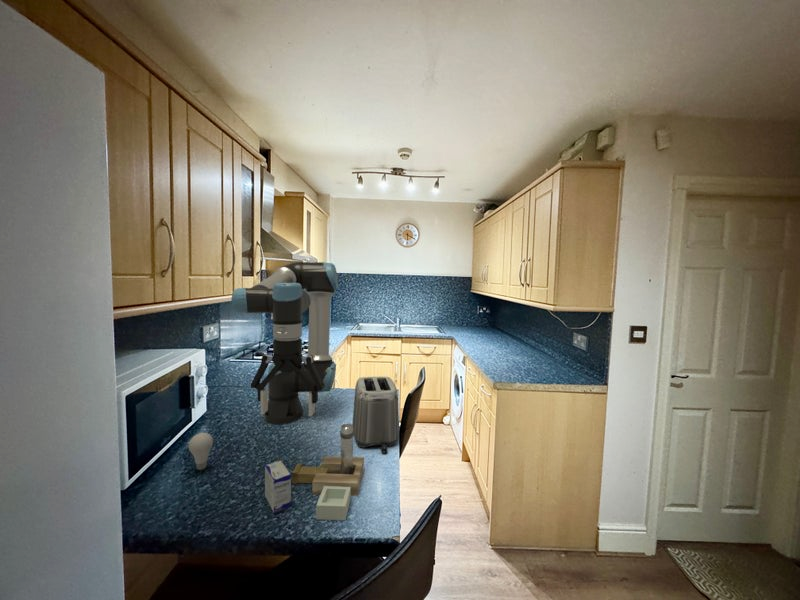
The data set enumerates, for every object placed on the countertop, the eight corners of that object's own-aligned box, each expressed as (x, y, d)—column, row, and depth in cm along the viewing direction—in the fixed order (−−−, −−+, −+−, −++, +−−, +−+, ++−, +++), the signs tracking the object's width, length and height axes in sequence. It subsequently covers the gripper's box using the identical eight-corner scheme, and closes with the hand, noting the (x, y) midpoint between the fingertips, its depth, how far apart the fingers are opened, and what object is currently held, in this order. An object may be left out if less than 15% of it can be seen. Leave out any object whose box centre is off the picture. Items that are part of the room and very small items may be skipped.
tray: (316, 519, 75) (316, 505, 74) (324, 498, 82) (324, 486, 81) (345, 520, 75) (345, 506, 74) (350, 499, 82) (350, 486, 81)
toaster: (392, 415, 133) (393, 371, 131) (404, 454, 103) (405, 398, 102) (352, 417, 130) (352, 372, 129) (352, 457, 101) (353, 400, 100)
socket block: (357, 495, 83) (357, 483, 83) (312, 494, 83) (312, 481, 83) (363, 468, 95) (363, 457, 95) (324, 467, 95) (324, 456, 95)
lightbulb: (187, 478, 89) (186, 440, 88) (191, 466, 95) (190, 430, 94) (211, 473, 92) (211, 436, 91) (214, 461, 97) (214, 427, 96)
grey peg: (338, 485, 87) (338, 429, 86) (341, 476, 91) (341, 423, 90) (352, 485, 87) (352, 430, 86) (354, 477, 91) (354, 423, 90)
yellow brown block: (324, 484, 87) (325, 473, 87) (292, 483, 87) (292, 472, 87) (329, 474, 92) (329, 464, 91) (297, 473, 92) (297, 463, 92)
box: (292, 506, 79) (291, 473, 78) (273, 514, 76) (273, 480, 76) (281, 489, 85) (281, 459, 84) (264, 496, 82) (264, 465, 82)
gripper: (236, 339, 84) (237, 416, 85) (328, 342, 82) (327, 421, 83) (251, 334, 91) (251, 406, 92) (335, 337, 90) (335, 409, 91)
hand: (287, 413), depth 88 cm, fingers open, 13 cm apart
